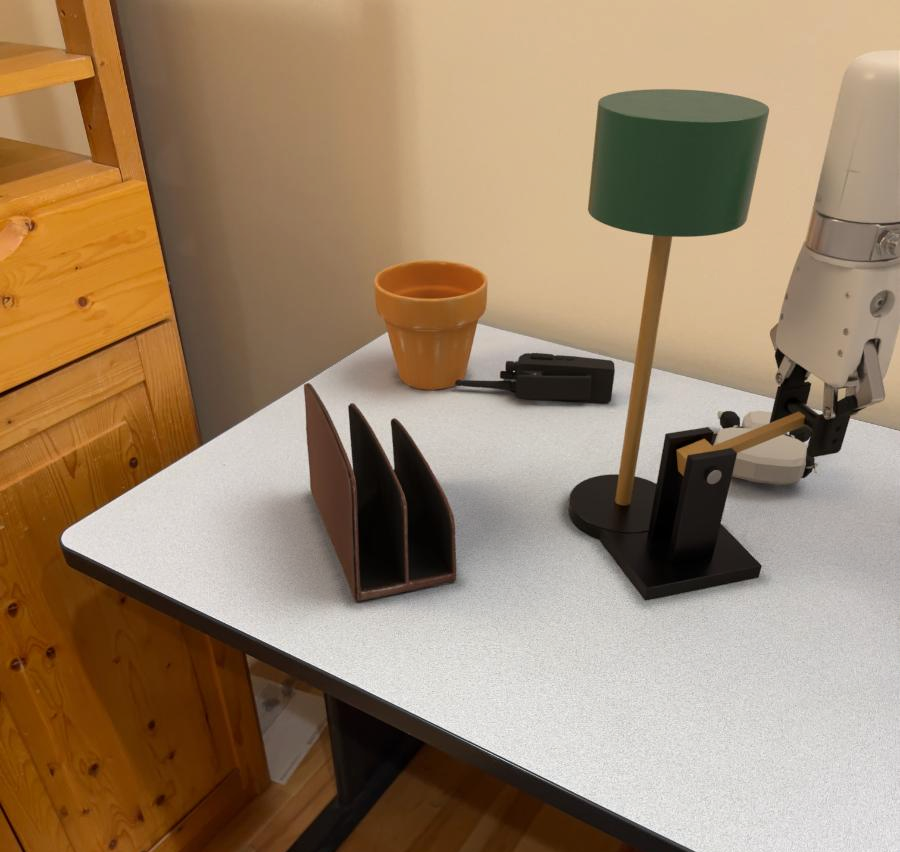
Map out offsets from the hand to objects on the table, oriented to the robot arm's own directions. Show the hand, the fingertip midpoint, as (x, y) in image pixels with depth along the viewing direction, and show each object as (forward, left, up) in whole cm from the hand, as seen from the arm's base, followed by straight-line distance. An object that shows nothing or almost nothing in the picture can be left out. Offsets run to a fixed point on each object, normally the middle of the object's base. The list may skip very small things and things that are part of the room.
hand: (803, 436), depth 81 cm
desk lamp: (+15, -5, -12) cm, 19 cm away
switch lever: (+5, +1, -1) cm, 6 cm away
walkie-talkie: (+21, -30, -9) cm, 38 cm away
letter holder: (+40, -2, -12) cm, 41 cm away
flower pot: (+34, -39, -12) cm, 53 cm away
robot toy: (-3, -15, -12) cm, 19 cm away
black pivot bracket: (+11, +3, -12) cm, 16 cm away
